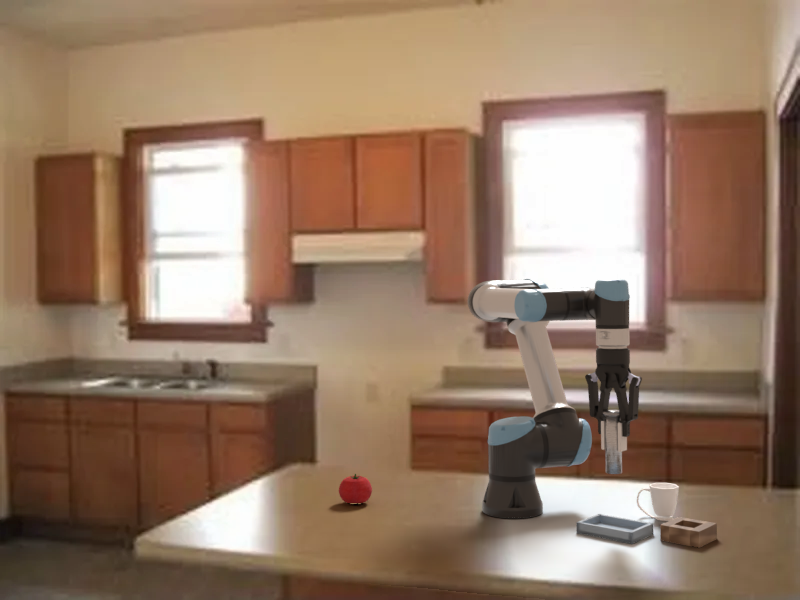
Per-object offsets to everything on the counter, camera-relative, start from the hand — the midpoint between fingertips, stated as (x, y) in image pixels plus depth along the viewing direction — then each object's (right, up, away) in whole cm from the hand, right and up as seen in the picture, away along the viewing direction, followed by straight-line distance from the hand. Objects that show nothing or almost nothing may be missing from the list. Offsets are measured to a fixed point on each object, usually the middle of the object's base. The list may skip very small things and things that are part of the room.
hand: (614, 449), depth 210 cm
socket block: (+15, -19, -5) cm, 25 cm away
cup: (+14, -19, +14) cm, 27 cm away
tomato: (-60, -20, +33) cm, 72 cm away
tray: (0, -19, 0) cm, 19 cm away
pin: (0, -5, 0) cm, 5 cm away
